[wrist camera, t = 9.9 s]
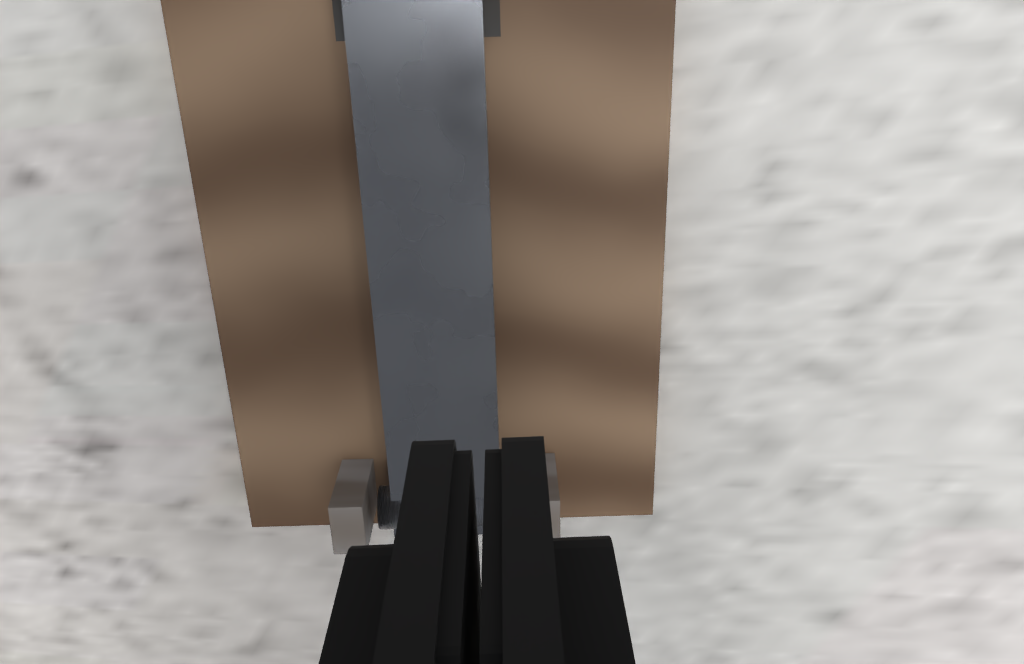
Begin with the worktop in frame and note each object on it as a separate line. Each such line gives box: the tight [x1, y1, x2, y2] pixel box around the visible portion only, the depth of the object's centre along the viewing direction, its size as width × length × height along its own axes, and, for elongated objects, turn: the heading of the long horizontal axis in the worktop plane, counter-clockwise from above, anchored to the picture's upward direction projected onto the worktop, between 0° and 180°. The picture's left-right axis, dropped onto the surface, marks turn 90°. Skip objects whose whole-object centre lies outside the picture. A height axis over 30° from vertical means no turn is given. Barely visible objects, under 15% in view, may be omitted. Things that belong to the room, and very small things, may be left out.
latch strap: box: [341, 0, 499, 536], centre depth 29 cm, size 21×5×2 cm, turn 2°
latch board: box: [161, 0, 676, 554], centre depth 28 cm, size 28×16×6 cm, turn 2°
